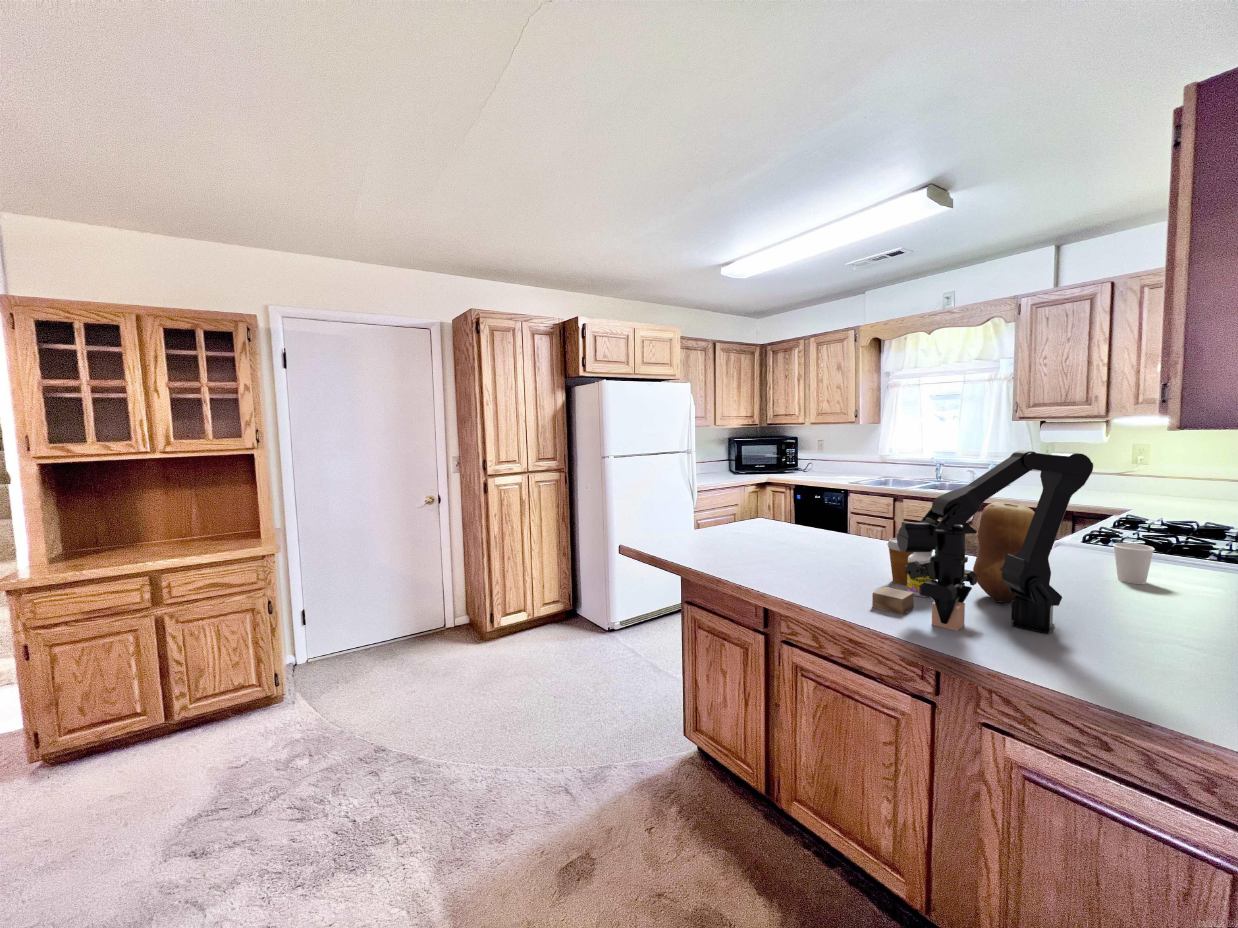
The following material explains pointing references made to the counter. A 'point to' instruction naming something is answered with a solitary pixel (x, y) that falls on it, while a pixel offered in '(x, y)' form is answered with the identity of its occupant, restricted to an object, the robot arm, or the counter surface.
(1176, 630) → the counter surface
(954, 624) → the cube
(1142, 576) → the dixie cup
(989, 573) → the butternut squash
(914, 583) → the supplement bottle
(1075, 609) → the counter surface
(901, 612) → the brown box
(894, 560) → the disposable coffee cup
